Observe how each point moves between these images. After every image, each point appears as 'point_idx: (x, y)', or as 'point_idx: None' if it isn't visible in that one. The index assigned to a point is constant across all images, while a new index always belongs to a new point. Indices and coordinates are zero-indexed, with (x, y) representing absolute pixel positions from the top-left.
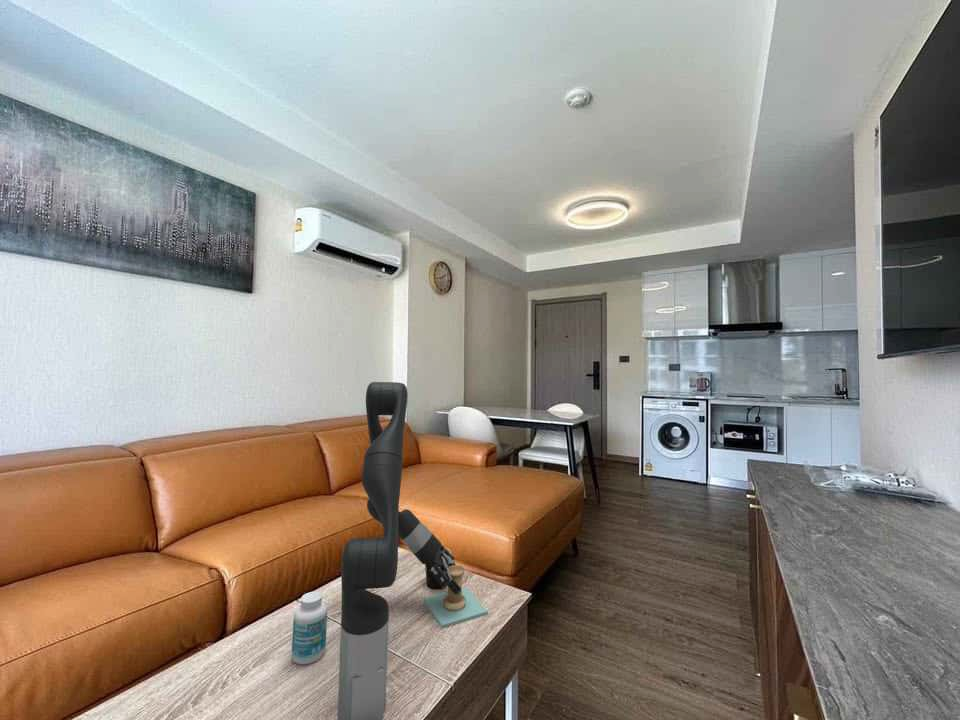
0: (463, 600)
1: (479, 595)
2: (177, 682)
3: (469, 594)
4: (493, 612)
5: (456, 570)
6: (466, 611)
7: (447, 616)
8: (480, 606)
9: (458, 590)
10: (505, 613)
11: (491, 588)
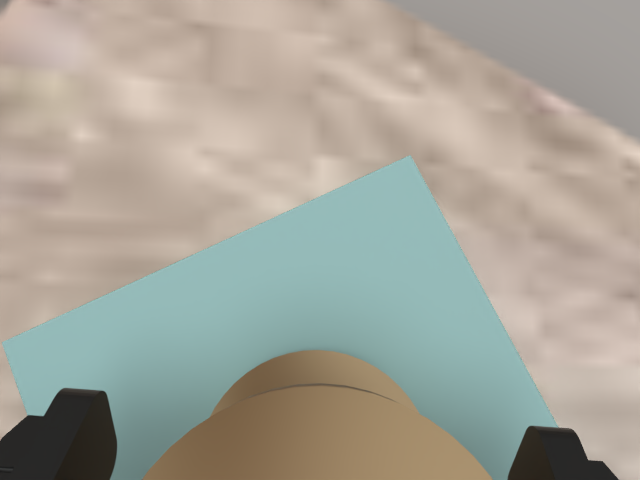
0: (335, 371)
1: (127, 216)
2: None
3: (142, 307)
4: (382, 118)
5: None
6: (421, 341)
7: None
8: (341, 213)
9: (606, 468)
10: (393, 32)
11: (23, 105)
